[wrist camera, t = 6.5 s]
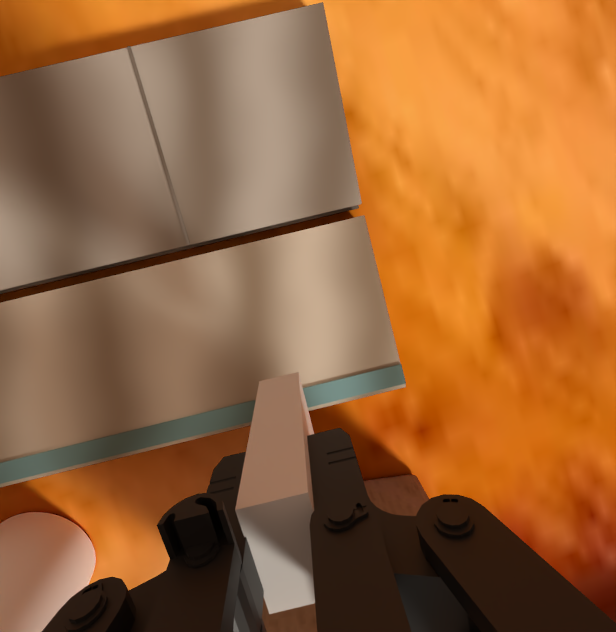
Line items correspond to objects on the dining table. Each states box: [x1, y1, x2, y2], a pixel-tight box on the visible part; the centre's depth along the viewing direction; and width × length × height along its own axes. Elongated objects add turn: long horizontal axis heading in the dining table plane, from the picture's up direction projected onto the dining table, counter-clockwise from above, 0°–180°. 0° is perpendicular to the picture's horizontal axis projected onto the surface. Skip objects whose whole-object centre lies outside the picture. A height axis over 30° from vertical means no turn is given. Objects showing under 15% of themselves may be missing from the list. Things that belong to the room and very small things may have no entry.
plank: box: [0, 216, 406, 487], centre depth 19 cm, size 30×9×2 cm, turn 103°
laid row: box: [0, 2, 362, 294], centre depth 18 cm, size 30×9×2 cm, turn 103°
